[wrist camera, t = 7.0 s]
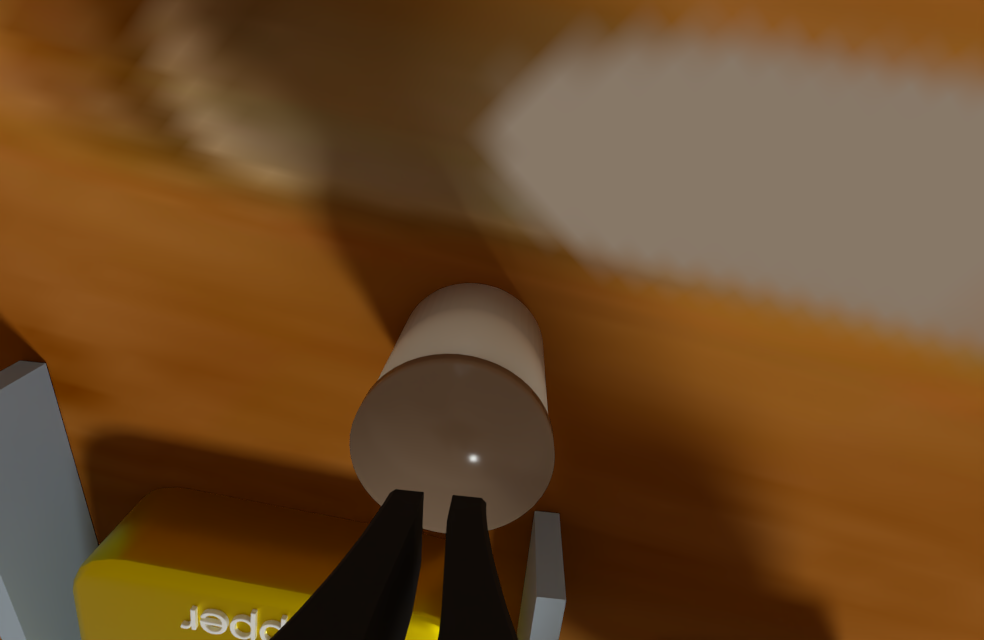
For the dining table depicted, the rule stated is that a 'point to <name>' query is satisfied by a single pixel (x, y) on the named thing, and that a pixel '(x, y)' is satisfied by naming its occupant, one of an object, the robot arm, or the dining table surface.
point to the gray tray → (71, 538)
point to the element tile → (223, 570)
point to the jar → (460, 408)
